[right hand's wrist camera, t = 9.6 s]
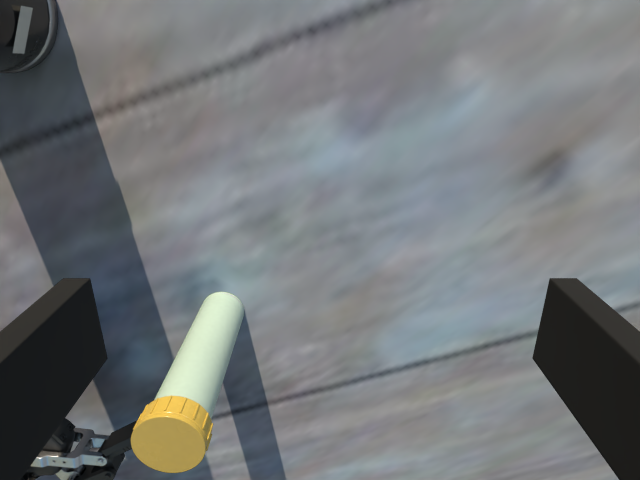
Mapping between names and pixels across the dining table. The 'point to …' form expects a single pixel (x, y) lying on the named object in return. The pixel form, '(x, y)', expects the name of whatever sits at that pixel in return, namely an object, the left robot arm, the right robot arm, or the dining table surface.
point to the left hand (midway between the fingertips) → (110, 397)
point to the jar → (205, 352)
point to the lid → (172, 434)
